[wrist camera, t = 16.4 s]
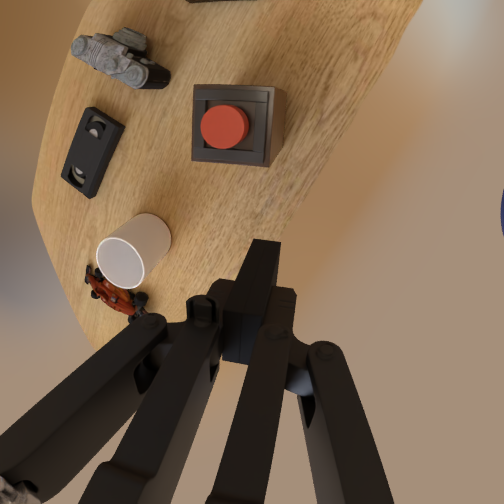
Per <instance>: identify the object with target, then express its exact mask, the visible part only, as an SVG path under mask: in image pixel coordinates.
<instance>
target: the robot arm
mask: <svg viewBox="0 0 504 504" xmlns="http://www.w3.org/2000/svg"><path fill="white" fill-rule="evenodd" d="M280 247H281V242H276V241H268V240H261V239H253V241H252V244H251V246H250V248H249V250H248V253H247V255H246V257H245V260H244V262H243V264H242V266H241V269H240V271H239V273H238V276H237V278H236V280H235V281H233V280H226V279H220V278H219V279H218V280H217V281H215V282H214V283H212V285H211V287H210V289H209V291H208V292H207V294H206V295H196V296H193V297H191V298H189V299H188V300H187V301H186V309H187V319H186V321H184V322H177V323H167V320H166V319H165V317H164V316H162V315H161V314H158V313H146V314H143V315H141V316H139V317H138V318H136V319H135V320H134V321H133V322H132V323H130V324H129V325H128V326H127V327H126V328H124V329H123V330H122V331H121V332H120V333H118V334H117V335H116V336H115V337H114V338H112V339H111V340H110V341H109V342H108V343H107V344H105V345H104V346H103V347H102V348H101V349H99V350H98V351H97V352H96V353H95V354H94V355H92V356H91V357H90V358H89V359H88V360H86V361H85V362H84V363H83V364H82V365H81V366H79V367H78V368H77V369H76V370H75V371H74V372H72V373H71V374H70V375H69V376H68V377H67V378H65V379H64V380H63V381H62V382H61V383H60V384H58V385H57V386H56V387H55V388H54V389H53V390H52V391H50V392H49V393H48V394H47V395H46V396H45V397H44V398H42V399H41V400H40V401H39V402H38V403H37V404H35V405H34V406H33V407H32V408H31V409H30V410H29V411H28V412H26V413H25V414H24V415H23V416H22V417H21V418H20V419H18V420H17V421H16V422H15V423H14V424H13V425H12V426H11V427H9V428H8V429H7V430H6V431H5V432H4V433H3V434H2V435H1V436H0V504H42V503H44V502H46V501H48V500H49V499H51V498H52V497H54V496H55V495H56V494H58V493H59V492H60V491H61V490H62V489H63V488H64V487H65V486H66V485H67V484H68V483H69V482H70V481H71V480H72V479H73V478H74V477H75V476H76V475H77V474H78V473H79V472H80V470H82V469H83V467H84V466H85V465H86V464H87V463H88V462H89V461H90V460H91V459H92V458H93V457H94V456H95V455H96V454H97V453H98V452H99V451H100V449H101V448H102V447H103V446H104V445H105V444H106V443H107V442H108V441H109V440H110V439H111V438H112V437H113V436H114V434H115V433H116V432H117V431H118V430H119V429H120V428H121V427H122V426H123V425H124V423H126V421H127V420H128V419H129V418H130V417H131V416H132V415H133V414H134V413H135V412H136V413H135V415H134V417H133V419H132V421H131V423H130V425H129V427H128V429H127V430H126V433H125V435H124V436H123V438H122V440H121V442H120V444H119V446H118V448H117V450H116V452H115V454H114V456H113V457H112V459H111V460H110V461H107V462H102V463H101V464H100V465H99V466H98V467H97V469H96V470H95V472H94V474H93V476H92V478H91V480H90V481H89V483H88V485H87V487H86V489H85V491H84V493H83V495H82V497H81V499H80V501H79V503H78V504H170V503H171V500H172V497H173V494H174V492H175V489H176V487H177V484H178V481H179V479H180V476H181V473H182V470H183V468H184V465H185V462H186V459H187V457H188V454H189V451H190V449H191V446H192V443H193V440H194V438H195V435H196V432H197V429H198V427H199V424H200V421H201V418H202V416H203V413H204V410H205V407H206V405H207V402H208V399H209V396H210V393H211V391H212V388H213V385H214V382H215V380H216V377H217V373H218V371H219V360H220V357H221V355H222V360H224V361H229V362H234V363H240V364H245V365H248V369H247V372H246V376H245V380H244V383H243V387H242V390H241V394H240V397H239V401H238V404H237V408H236V411H235V415H234V418H233V422H232V425H231V429H230V432H229V436H228V439H227V442H226V446H225V449H224V453H223V456H222V459H221V463H220V466H219V469H218V472H217V476H216V479H215V482H214V486H213V489H212V492H211V494H210V495H209V496H208V497H207V500H206V502H205V504H264V500H265V495H266V489H267V484H268V480H269V474H270V469H271V464H272V459H273V453H274V447H275V441H276V436H277V431H278V425H279V418H280V413H281V407H282V401H283V394H284V389H286V390H288V391H290V392H293V393H295V394H297V399H298V404H299V409H300V414H301V419H302V424H303V430H304V435H305V440H306V445H307V451H308V456H309V461H310V466H311V472H312V477H313V483H314V488H315V493H316V499H317V504H394V501H393V497H392V494H391V491H390V488H389V484H388V481H387V478H386V475H385V472H384V469H383V466H382V462H381V459H380V456H379V454H378V450H377V447H376V444H375V441H374V438H373V435H372V433H371V429H370V427H369V424H368V421H367V418H366V415H365V412H364V410H363V407H362V404H361V401H360V398H359V395H358V392H357V390H356V387H355V384H354V381H353V379H352V376H351V373H350V371H349V368H348V365H347V362H346V360H345V357H344V354H343V352H342V350H341V349H340V347H339V346H337V345H335V344H334V343H332V342H329V341H317V342H315V343H313V344H311V345H307V344H305V343H303V342H301V341H299V340H298V339H297V338H296V337H295V336H294V334H293V329H292V328H293V321H294V313H295V305H296V297H297V295H296V293H295V291H294V289H292V288H286V287H278V286H276V282H277V274H278V265H279V256H280Z"/></svg>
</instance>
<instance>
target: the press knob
mask: <svg viewBox="0 0 504 504" xmlns="http://www.w3.org/2000/svg"><path fill="white" fill-rule="evenodd" d="M248 129H249V122H248V118H247V116H246V114H245V113H244V112H243V111H242V110H241V109H240V108H238V107H236V106H234V105H218V106H215V107H212V108H211V109H209V110H208V111H207V112H206V113H205V114H204V116H203V118H202V121H201V133H202V136H203V138H204V139H205V141H206V142H207V143H208V144H209V145H211V146H213V147H215V148H218V149H227V148H231V147H233V146H235V145H236V144H238V143H240V142H241V141H242V140H243V139H244V138H245V137H246V135H247V133H248Z"/></svg>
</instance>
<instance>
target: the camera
mask: <svg viewBox="0 0 504 504" xmlns="http://www.w3.org/2000/svg"><path fill="white" fill-rule="evenodd" d="M145 39H146V36H145V35H143V34H141V33H139V32H137V31H134V30H132V29H129V28H126V27H124V28H122V30H119V32H115V33H114V35H113V36H110V35H105V34H99V33H96V34H95V35H94V36H93V37H92V36H86V35H80V36H79V37H78V38H76V39H75V40H74V41H73V43H72V45H71V54H72V55H73V56H75V57H76V58H78V59H80V60H82V61H84V62H85V63H87V64H88V65H90V66H92V67H94V69H96V70H98V71H101V72H103V73H105V74H106V75H111V78H112V79H114V78H116V79H118V80H120V81H122V82H123V83H125V84H127V85H128V86H130V87H132V88H133V89H163V88H164V87H166V86H167V85H168V84H169V82H170V79H171V72H170V71H169V70H167V69H166V68H164V67H162V66H160V65H159V64H157V63H155V62H154V61H152V60H150V59H148V58H146V55H147V51H146V50H145V48H146V47H147V45H146V44H145V43H146V42H147V41H146V40H145Z"/></svg>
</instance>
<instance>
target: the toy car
mask: <svg viewBox="0 0 504 504" xmlns="http://www.w3.org/2000/svg"><path fill="white" fill-rule="evenodd" d="M90 271H91V267H90V266H88V265H87V268H86V276H85V282H86V284H88V283H90V284H91V286H92V288H93V290H92V291H91V297H92V298H94V299H98V298H100V296H101V300H102V301H103V302H104V303H106V304H107V305H108V306H110V307H111V308H113V309H114V310H116V311H119V312H122V313H124V314H127V315H129V317H128V322H129V323H132V322H133V321H134V320H135V319H136V318H138V317H139V316H141V315H143V314H146V313H148V312H147V311H145V309H144V307H143V306H145V305H146V303H147V300H148V296H147V295H146V294H145V293H143V292H138V293H137V294H136V296H135V295H134V294H133V293H131V292H130V291H129V290H127V289H124V288H120V287H118V286H116V285H114V284H112V283H111V282H110V281H109V280H107V278H106V279H103V278H102V276H104V275H103V274H102V272H101V270H100V268H96V269H95V276H93V275H91V274H90ZM96 276H97V277H96ZM134 297H135V299H134ZM133 299H134V301H133ZM135 311H136V312H135ZM139 313H140V314H139Z"/></svg>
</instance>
